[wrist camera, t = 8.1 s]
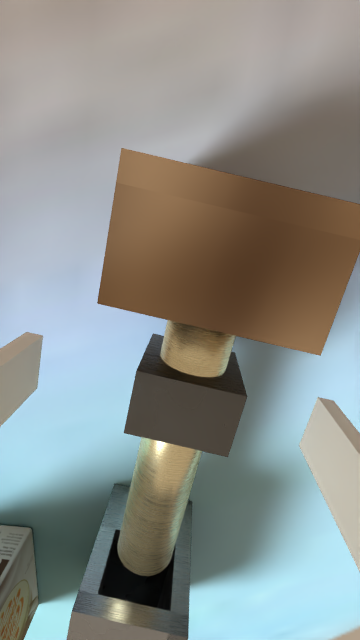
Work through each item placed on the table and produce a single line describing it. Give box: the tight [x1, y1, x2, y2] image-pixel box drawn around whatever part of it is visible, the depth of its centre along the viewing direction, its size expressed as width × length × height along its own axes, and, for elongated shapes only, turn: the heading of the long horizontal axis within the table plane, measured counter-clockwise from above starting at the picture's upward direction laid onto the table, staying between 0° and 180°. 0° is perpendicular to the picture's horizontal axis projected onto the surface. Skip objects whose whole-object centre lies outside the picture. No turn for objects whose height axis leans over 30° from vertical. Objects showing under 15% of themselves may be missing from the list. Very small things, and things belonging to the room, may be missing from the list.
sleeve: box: [67, 484, 192, 640], centre depth 22 cm, size 6×10×8 cm, turn 167°
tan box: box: [97, 148, 360, 356], centre depth 15 cm, size 8×5×9 cm, turn 77°
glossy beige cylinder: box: [117, 320, 247, 576], centre depth 16 cm, size 5×17×5 cm, turn 167°
